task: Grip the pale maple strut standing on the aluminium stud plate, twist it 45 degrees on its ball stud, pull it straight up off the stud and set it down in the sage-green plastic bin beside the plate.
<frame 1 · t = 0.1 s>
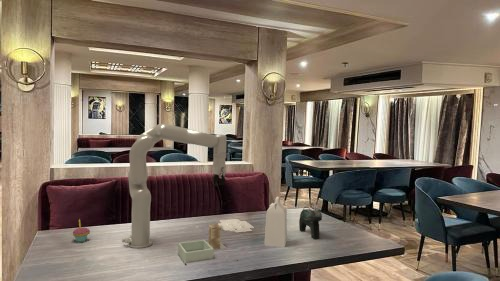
hand: (219, 183, 202), 31 cm above the table, tool pointing down, fingers open, 9 cm apart
stud plate: (214, 248, 180), on the table
cupcake: (81, 240, 186), on the table
bin: (195, 257, 167), on the table
strut: (214, 245, 180), point 1 cm above the table, touching stud plate
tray: (235, 227, 221), on the table
dark grey animal figurine: (308, 235, 208), on the table
milk: (275, 242, 192), on the table
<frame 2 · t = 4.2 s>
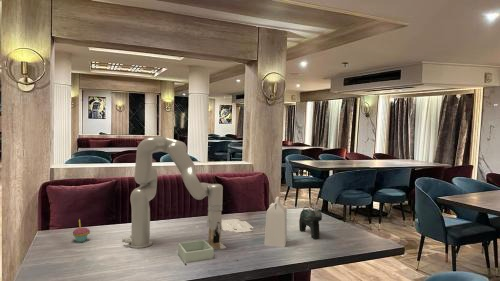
hand: (214, 240, 180), 4 cm above the table, tool pointing down, fingers closed on strut, 5 cm apart
strut: (214, 245, 180), point 2 cm above the table, touching gripper, stud plate
everything else where it was.
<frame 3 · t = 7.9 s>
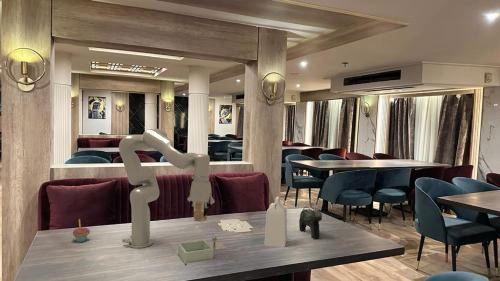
hand: (200, 214, 169), 21 cm above the table, tool pointing down, fingers closed on strut, 5 cm apart
strut: (200, 220, 169), point 18 cm above the table, touching gripper
everything else where it was.
when the fingers open (6 cm above the table, at t = 11.9 s): strut drops 2 cm, resting on bin.
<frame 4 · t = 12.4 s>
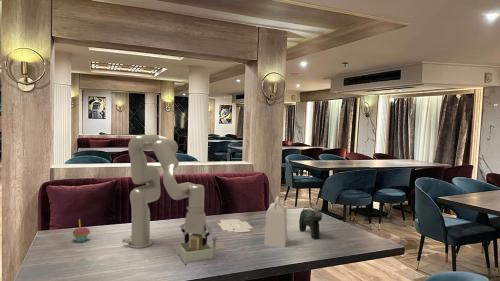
hand: (195, 243, 167), 7 cm above the table, tool pointing down, fingers open, 9 cm apart
strut: (195, 256, 167), point 1 cm above the table, touching bin
everything else where it was.
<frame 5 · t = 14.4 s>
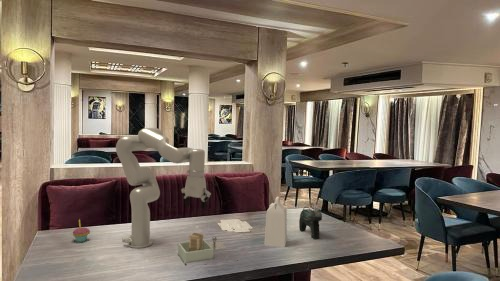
hand: (195, 207, 168), 25 cm above the table, tool pointing down, fingers open, 9 cm apart
nothing on the table moved.
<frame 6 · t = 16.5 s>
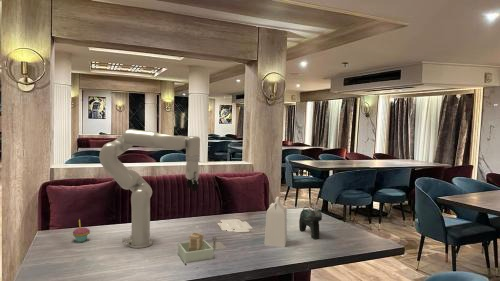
hand: (192, 189, 186), 30 cm above the table, tool pointing down, fingers open, 9 cm apart
at the end: strut inside the target area on the bin (0.4 cm from its centre), point 0.8 cm above the bin's base; the gripper is holding nothing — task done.
